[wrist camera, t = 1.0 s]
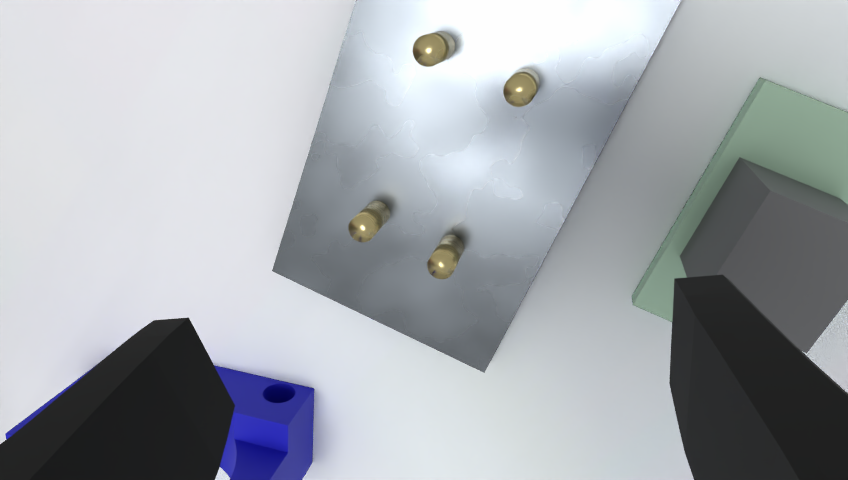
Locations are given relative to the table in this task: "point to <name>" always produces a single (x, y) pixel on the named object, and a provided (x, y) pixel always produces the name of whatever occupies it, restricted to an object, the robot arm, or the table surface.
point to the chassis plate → (459, 156)
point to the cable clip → (259, 427)
